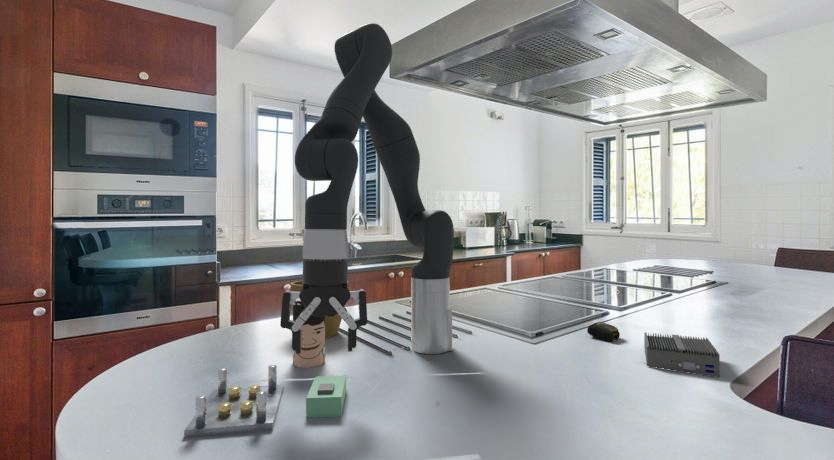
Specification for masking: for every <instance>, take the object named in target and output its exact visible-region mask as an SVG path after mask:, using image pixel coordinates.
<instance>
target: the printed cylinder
mask: <svg viewBox="0 0 834 460" xmlns="http://www.w3.org/2000/svg"><path fill="white" fill-rule="evenodd" d="M305 308H306V307H305V305H304V304H303V303H302V301H301V300H300V298H297V299H296V301H295V303H294V304H292V321H296V319H297V318H298V317H299V316H300V314H301V313H302V312H303V310H304V309H305ZM300 329H302V336H301V354H296V350H294V351H293V350H292V365H293V366H295V367H299V368H314V367H319V366H323V364H325V363H326V338H325V316H321V317H315V316H313V315H312V314H311V315H310V316H309V317H308V319H307V320H306V321H305V322H304V324H303V325H302V326H301V327H300Z"/></svg>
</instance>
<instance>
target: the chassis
mask: <svg viewBox="0 0 834 460" xmlns="http://www.w3.org/2000/svg"><path fill="white" fill-rule="evenodd" d="M267 368H268V369H267V370H268V372H267V373H268V375H267V377H268V378H267V379H268V380H267V381H268V385H259V384H254V385H253V384H252V385H250V386H245V387H244V386H243V387H240V386H232V387H229V388H228V385H227V384H228V373H227V372H228V369H227V367H221V368H218V369H217V388H216V389H213V390H212V391H211V393H210V394H209V395H208V397H207V395H203V394H202V395H197V396H196V397H195V415H194V416H193V418H192V419H191V420H190V422H189V423H188V425H186V427H185V429H184V430H183V438H184V439H186V438H189V439H190V438H199V437H210V436H220V435H222V436H223V435H234V434H235V435H236V434H244V433H257V432H258V433H259V432H268V431H269V432H271V431H274V427H275V422H276V419H277V415H278V412H279V408H280V403H281V400H282V396H283V392H284V388H285V384H277V383H278V382H277V381H278V380H277V369H278V367H277V365H276V364H271V365H268V367H267Z"/></svg>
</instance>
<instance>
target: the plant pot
mask: <svg viewBox="0 0 834 460" xmlns="http://www.w3.org/2000/svg"><path fill="white" fill-rule="evenodd" d="M348 283H350V282H349V280H348ZM290 284H291V290H292V291H291V292H301V290H302V286H303V280H299V281H298V280H297V281H293V282H291V283H290ZM344 307H345V308H346V305H345V306H344ZM342 320H343V319H342V318H341V316H340V315H339V314H337V315H335V316H334V317H329V316H325V339H329V338H332V337H335V336H337V335H338V333H339V330H340V327H341V325H342V323H341V322H342Z"/></svg>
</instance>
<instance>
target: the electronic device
mask: <svg viewBox="0 0 834 460" xmlns="http://www.w3.org/2000/svg"><path fill="white" fill-rule="evenodd" d="M643 335H644V337H643V338H644V346H643V347H644V349H645V350H644V354H645V361H646V367H647V366H650V367H657V368H664V369H670V370H669V371H671V370H676V371H675V372H678V371H681V372H680V373H685V372H690V373H689V374H692V373H696V374H695V375H699V374H703V375H702V376H706V375H710V376H709V377H714V376H718V377H717V378H720V369H721V368H720V362H721V361H720V360H721V359H720V353H719V352H718V350H717V348H715V346H714V345H713V344H712V343H711V341H710V339H709V338H708V337H703V336H702V337H698V336H695V337H694V336H687V335H685V336H684V335H679V334H668V333H667V334H666V333H665V335H664V334H662V333H661V332H660V334H659V333H654V332H652V334H650V333H649V332H648V333H647V331H646V332H644V333H643ZM650 367H649V368H650ZM657 368H656V369H657ZM664 369H663V370H664ZM682 371H683V372H682Z"/></svg>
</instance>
